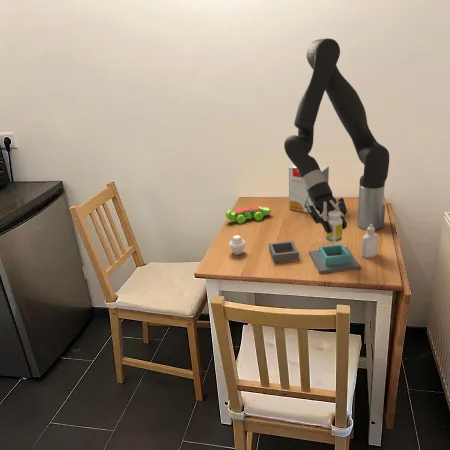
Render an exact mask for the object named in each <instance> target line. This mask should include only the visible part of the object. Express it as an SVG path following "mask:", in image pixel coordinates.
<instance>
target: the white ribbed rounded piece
mask: <svg viewBox="0 0 450 450" xmlns="http://www.w3.org/2000/svg"><path fill="white" fill-rule="evenodd" d="M246 243H247V242H246V241H245V240H244V239H243V238H242V236H241V235H237V234H236V235H234V236H232V237H231V240H230V241H229V243H228V245H229V248H230V250H231V251H232V253H233V254H234V255H241V254H242V253H243V252H244V251H245V248H246Z"/></svg>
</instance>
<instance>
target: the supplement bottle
mask: <svg viewBox="0 0 450 450" xmlns="http://www.w3.org/2000/svg"><path fill="white" fill-rule="evenodd" d="M327 215H328V216H327V217H328V218H327V221H328V223H329V225H330V227H331V229H332V232H331V233H327V232H326V231H325V240H326V241H327V242H329V243H340V242H341V241H342V239H343V229H342V224H343V221H342V219H341V218H340V217H341V213H340V212H339V211H335V210H334V211H330V212H329V213H327Z"/></svg>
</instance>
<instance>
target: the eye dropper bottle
mask: <svg viewBox="0 0 450 450" xmlns="http://www.w3.org/2000/svg"><path fill="white" fill-rule="evenodd" d="M375 231H376V230H375V228H374V227H373V225H372V224H370V227H368V228H367V230H366V234H364V235H363V236H362V240H361V257H362V258H364V259H371V258H374V257H376V256H377V255H378V252H379V235H378V234H377V233H376V232H375Z"/></svg>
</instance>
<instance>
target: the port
mask: <svg viewBox="0 0 450 450" xmlns="http://www.w3.org/2000/svg"><path fill="white" fill-rule="evenodd" d="M308 255H309V257H310V258H311V261H312V263H313V264H314V265H315V268H316V270H317V271H318V273H319V274H328V273H337V272H344V271H352V270H362V265H361V264H360V263H359V261H358V260H357V259H356V257H355V256H354V255H353V253H352V251H350V249H349V248H348V246H345V245H344V244H343V243H340V244H339V243H338V244H337V243H336V244H330V245H321V246H318V249H317V250H310V251H308Z"/></svg>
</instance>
